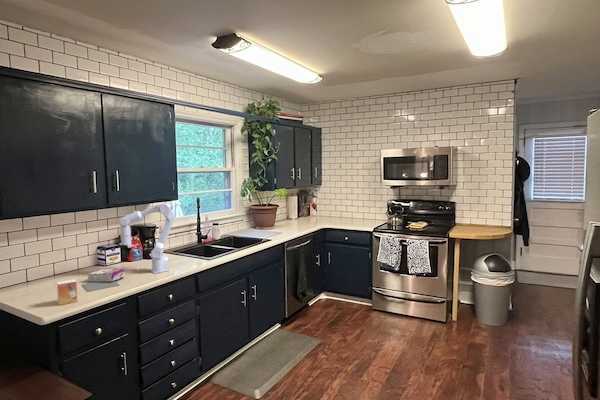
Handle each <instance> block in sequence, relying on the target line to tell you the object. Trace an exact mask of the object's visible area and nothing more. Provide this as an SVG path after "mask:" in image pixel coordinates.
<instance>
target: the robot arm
mask: <svg viewBox="0 0 600 400" xmlns="http://www.w3.org/2000/svg"><path fill="white" fill-rule="evenodd" d="M153 213H161V214H162V215H163V216H164V218H165V222H164V224H163V226H162V227H163V228H162V229H161V232H160V234H159V236H158V237H159V238H158V239H157V242H156V243H155V244H156V245H155V246H154V247H153V249H152V250H151V252H150V255H151V268H152V269H150V272H151V273H152V274H158V273H159V274H160V273H163V272H168V271H170V269H169V259H168V256H166V255H164V247H165V244H166V242H167V240H168V236H169V234H170V232H171V229H172V226H173V224H174V222H175V213H174V207H173V206H172V204H170V202H167V201H165V202H163V203H159V204H156V205H153V206H151V207H148V208H147V209H144V210H142V211H139V210H133V212H131V213H129V214H126V215H125V216H122V217H121V218H120V219H119V221H118V223H119V225H120V226H119V227H120V231H119V232H120V243H118V245H120V248H121V249H122V253H123V254H124V257H125V259H126V258H130V256H131V255H130V254H131V250H132V249H133V246H132V242H133V241H132V233H131V232H132V231H131V224H135V223H136V222H139V221H141V220H142V219H143V217H145V216H147V215H150V214H153Z"/></svg>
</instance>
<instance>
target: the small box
mask: <svg viewBox="0 0 600 400" xmlns="http://www.w3.org/2000/svg"><path fill="white" fill-rule="evenodd" d="M56 289H57V302H58V305H59V306H62V305H66V304H67V305H68V304H74V303H78V287H77V280H76V278H73V279H68V280H67V279H66V280H62V281H57V282H56Z"/></svg>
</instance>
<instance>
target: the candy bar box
mask: <svg viewBox="0 0 600 400" xmlns="http://www.w3.org/2000/svg"><path fill="white" fill-rule="evenodd" d="M125 277H126V273H125V268H122V269H121V268H115V269H113V268H110V269H109V268H108V269H107V268H104V269H98V270H95V271H91V272H90V273H87V279H88V283H91V282H112V281H118V280H120V279H123V278H125Z"/></svg>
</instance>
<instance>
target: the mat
mask: <svg viewBox="0 0 600 400" xmlns="http://www.w3.org/2000/svg"><path fill="white" fill-rule="evenodd" d="M81 285H82V287H83V288H84V289H85V292H87V293H88V292H93V291H98V290H103V289H104V290H105V289H108V288H113V287H114V288H115V287H119V286H120V284H119V282H117V280H115V281H112V282H85V283H82V284H81Z"/></svg>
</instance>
